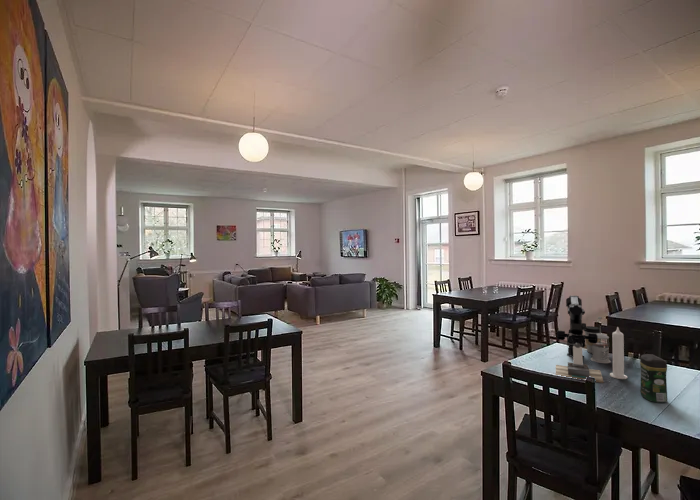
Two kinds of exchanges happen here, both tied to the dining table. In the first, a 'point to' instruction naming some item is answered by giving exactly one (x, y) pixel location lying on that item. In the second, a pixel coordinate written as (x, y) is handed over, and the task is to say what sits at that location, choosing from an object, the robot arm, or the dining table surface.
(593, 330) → the coffee cup
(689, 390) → the dining table surface
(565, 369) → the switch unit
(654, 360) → the coffee jar
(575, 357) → the lever
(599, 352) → the french press
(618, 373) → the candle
